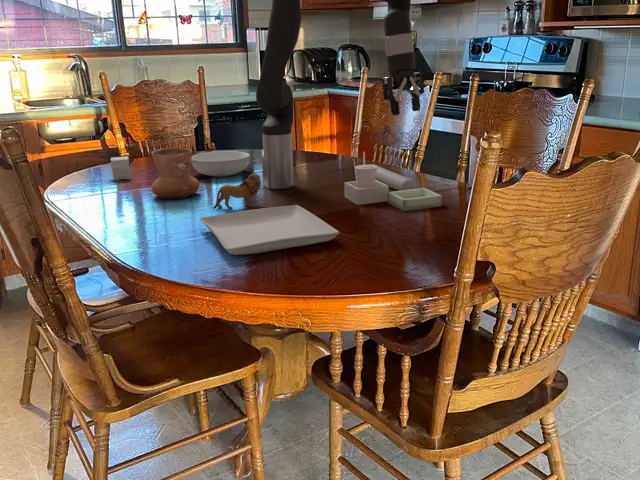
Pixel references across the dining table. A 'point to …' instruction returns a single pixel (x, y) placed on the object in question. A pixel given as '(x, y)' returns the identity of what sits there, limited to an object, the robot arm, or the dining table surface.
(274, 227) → the square plate
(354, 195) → the hollow square frame
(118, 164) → the skincare box
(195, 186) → the ceramic jug
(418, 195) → the tray
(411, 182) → the tube
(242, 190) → the lion figurine
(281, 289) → the dining table surface
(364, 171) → the smoothie
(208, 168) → the serving bowl
